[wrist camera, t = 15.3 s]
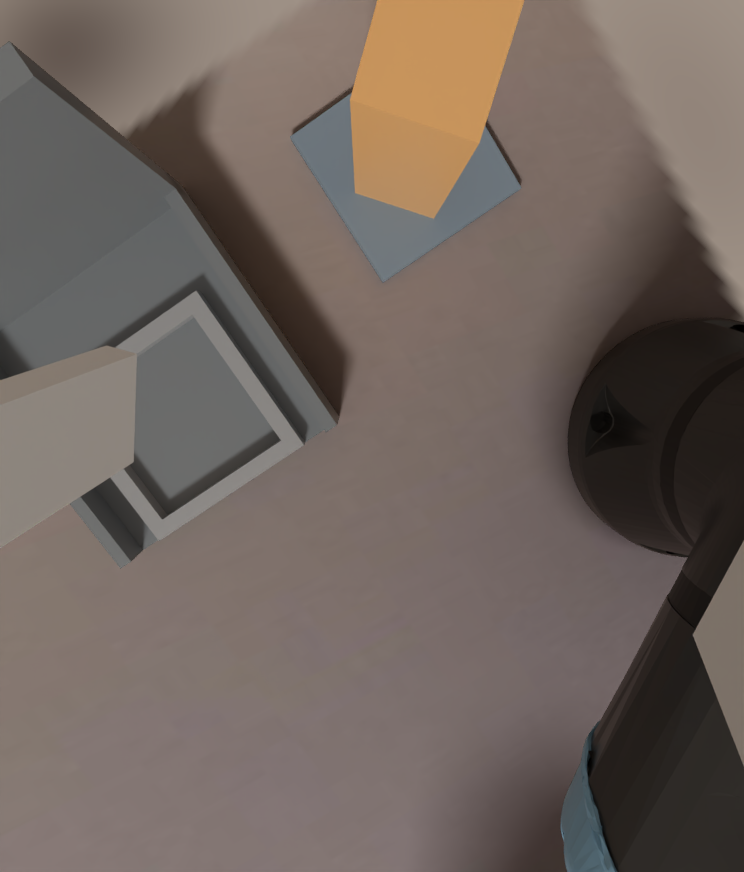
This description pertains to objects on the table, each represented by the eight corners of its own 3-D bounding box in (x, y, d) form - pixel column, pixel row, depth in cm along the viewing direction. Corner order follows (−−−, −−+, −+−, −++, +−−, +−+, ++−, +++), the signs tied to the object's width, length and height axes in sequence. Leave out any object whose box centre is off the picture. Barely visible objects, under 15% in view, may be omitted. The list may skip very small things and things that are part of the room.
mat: (519, 189, 36) (521, 187, 35) (382, 282, 36) (383, 282, 36) (431, 39, 34) (432, 34, 34) (290, 139, 35) (290, 136, 34)
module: (459, 134, 35) (524, 0, 21) (433, 218, 35) (479, 143, 22) (379, 107, 34) (390, -48, 20) (354, 192, 35) (349, 100, 21)
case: (339, 417, 38) (319, 484, 21) (141, 548, 39) (-33, 714, 22) (173, 173, 35) (-8, 17, 18) (-33, 322, 36) (-387, 310, 19)
